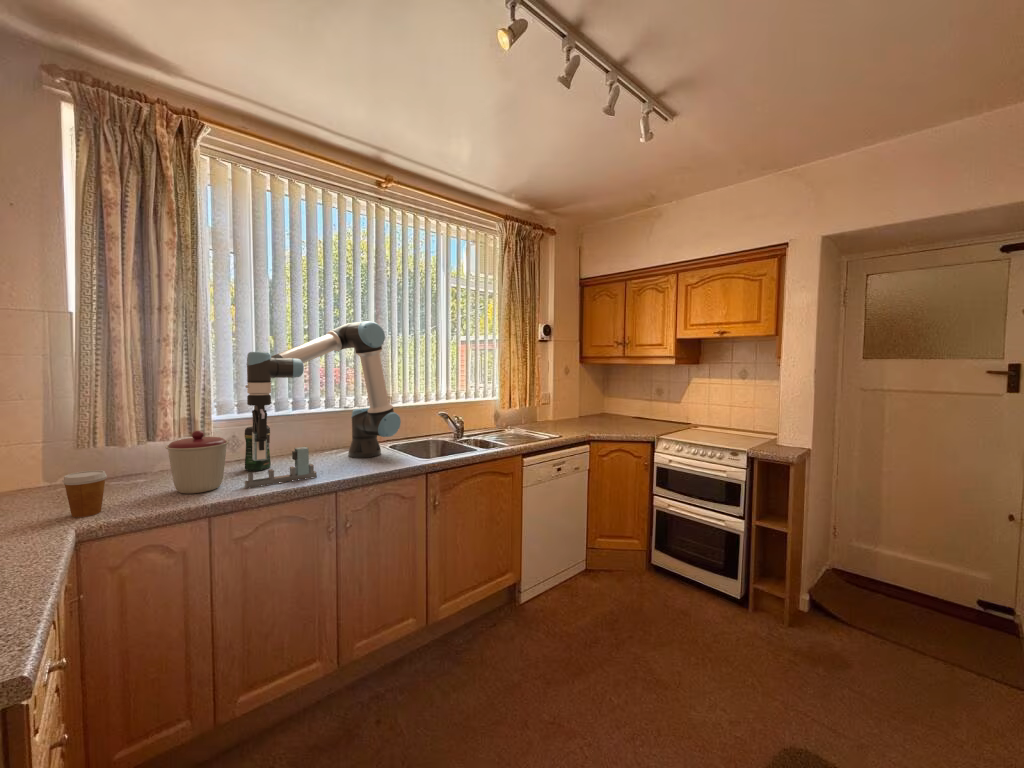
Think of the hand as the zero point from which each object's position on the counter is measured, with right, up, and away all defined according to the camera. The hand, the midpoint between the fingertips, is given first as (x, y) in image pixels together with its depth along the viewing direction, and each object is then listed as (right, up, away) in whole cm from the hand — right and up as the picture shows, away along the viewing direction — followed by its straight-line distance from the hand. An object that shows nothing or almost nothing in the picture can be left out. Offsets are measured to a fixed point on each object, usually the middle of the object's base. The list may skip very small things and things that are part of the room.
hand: (259, 457), depth 160 cm
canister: (-18, -11, -6) cm, 22 cm away
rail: (+5, -10, +5) cm, 13 cm away
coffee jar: (-15, -9, +25) cm, 30 cm away
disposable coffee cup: (-34, -12, -31) cm, 47 cm away
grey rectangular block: (0, -1, 0) cm, 1 cm away
